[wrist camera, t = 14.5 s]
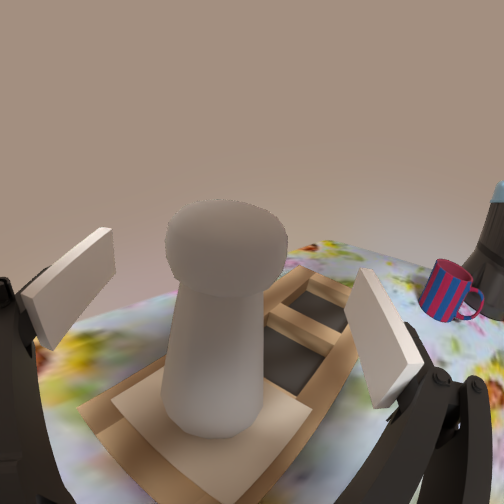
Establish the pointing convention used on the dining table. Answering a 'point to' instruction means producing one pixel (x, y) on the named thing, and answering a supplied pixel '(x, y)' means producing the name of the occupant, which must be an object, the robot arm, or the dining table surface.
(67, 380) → the dining table surface
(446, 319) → the mug
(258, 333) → the salt shaker
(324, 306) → the wooden slotted tray
